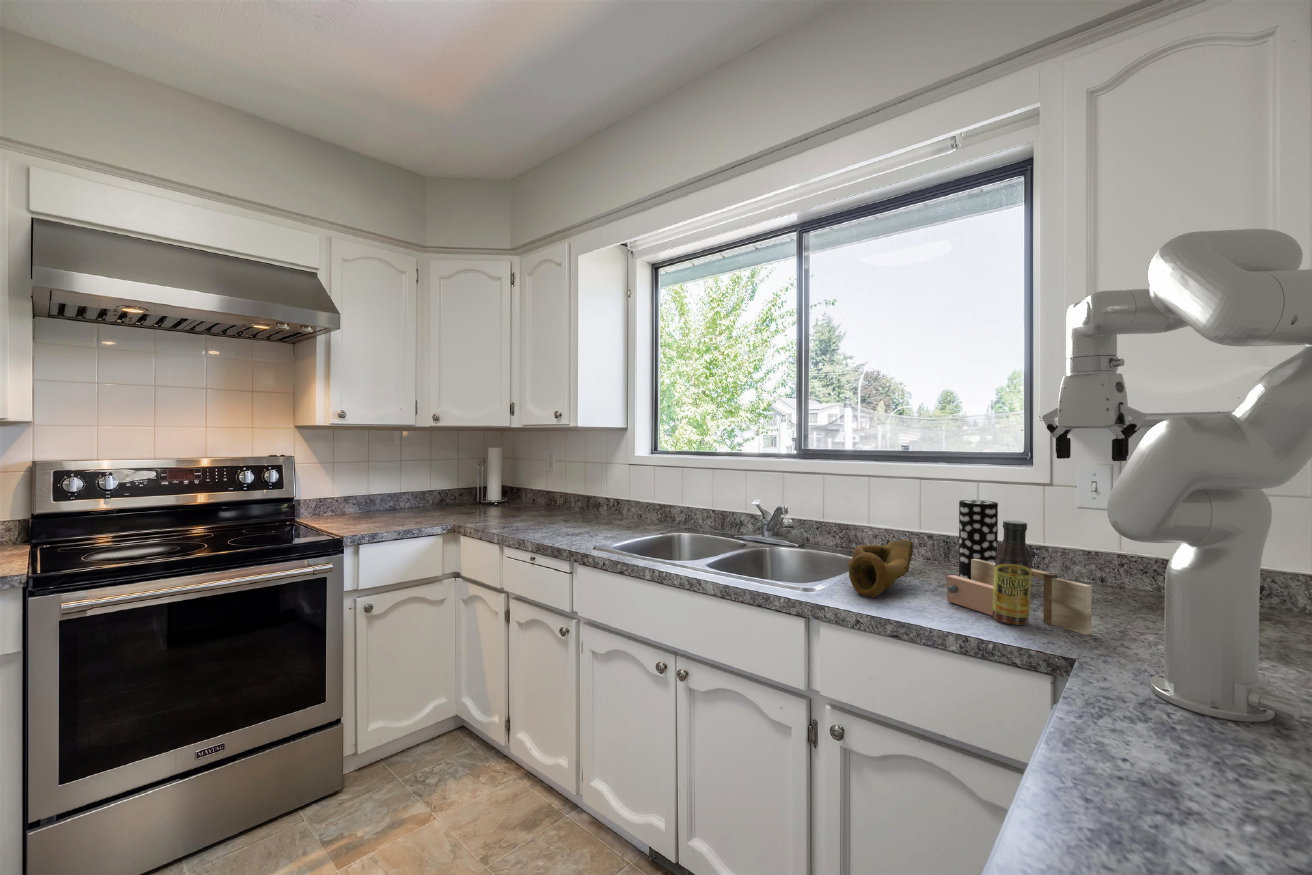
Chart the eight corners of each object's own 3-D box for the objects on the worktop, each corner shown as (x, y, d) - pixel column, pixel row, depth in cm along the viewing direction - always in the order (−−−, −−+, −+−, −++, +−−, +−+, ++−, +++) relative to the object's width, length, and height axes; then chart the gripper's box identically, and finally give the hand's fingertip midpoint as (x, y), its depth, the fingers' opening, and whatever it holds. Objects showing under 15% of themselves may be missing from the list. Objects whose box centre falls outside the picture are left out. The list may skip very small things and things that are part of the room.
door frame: (1092, 633, 107) (1092, 582, 107) (1085, 635, 107) (1085, 583, 106) (976, 598, 130) (976, 555, 129) (970, 599, 129) (970, 556, 129)
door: (999, 614, 118) (999, 587, 118) (989, 616, 116) (989, 589, 116) (953, 599, 128) (953, 574, 128) (943, 601, 127) (943, 576, 127)
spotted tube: (996, 589, 137) (996, 505, 136) (957, 584, 141) (957, 502, 141) (998, 581, 144) (998, 501, 143) (960, 577, 148) (960, 499, 148)
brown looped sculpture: (953, 558, 137) (893, 554, 126) (932, 606, 139) (872, 606, 128) (892, 524, 152) (834, 517, 141) (874, 567, 155) (816, 564, 144)
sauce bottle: (993, 623, 113) (993, 522, 113) (991, 614, 119) (992, 517, 118) (1033, 628, 110) (1033, 524, 110) (1029, 619, 116) (1030, 520, 115)
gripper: (1157, 363, 101) (1156, 461, 101) (1056, 372, 117) (1056, 457, 117) (1131, 362, 98) (1130, 462, 99) (1031, 371, 114) (1031, 458, 115)
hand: (1090, 459), depth 108 cm, fingers open, 9 cm apart
